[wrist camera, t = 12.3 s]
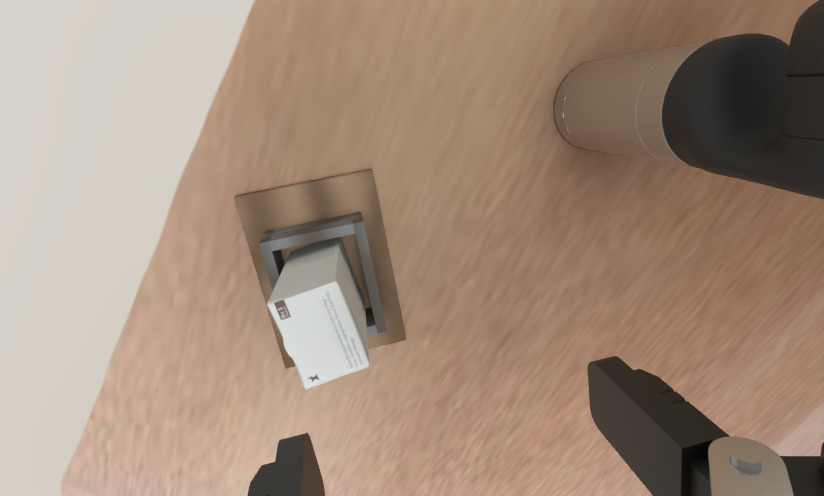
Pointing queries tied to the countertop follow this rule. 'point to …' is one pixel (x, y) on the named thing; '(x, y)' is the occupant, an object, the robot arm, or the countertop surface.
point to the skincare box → (321, 313)
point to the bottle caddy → (321, 220)
